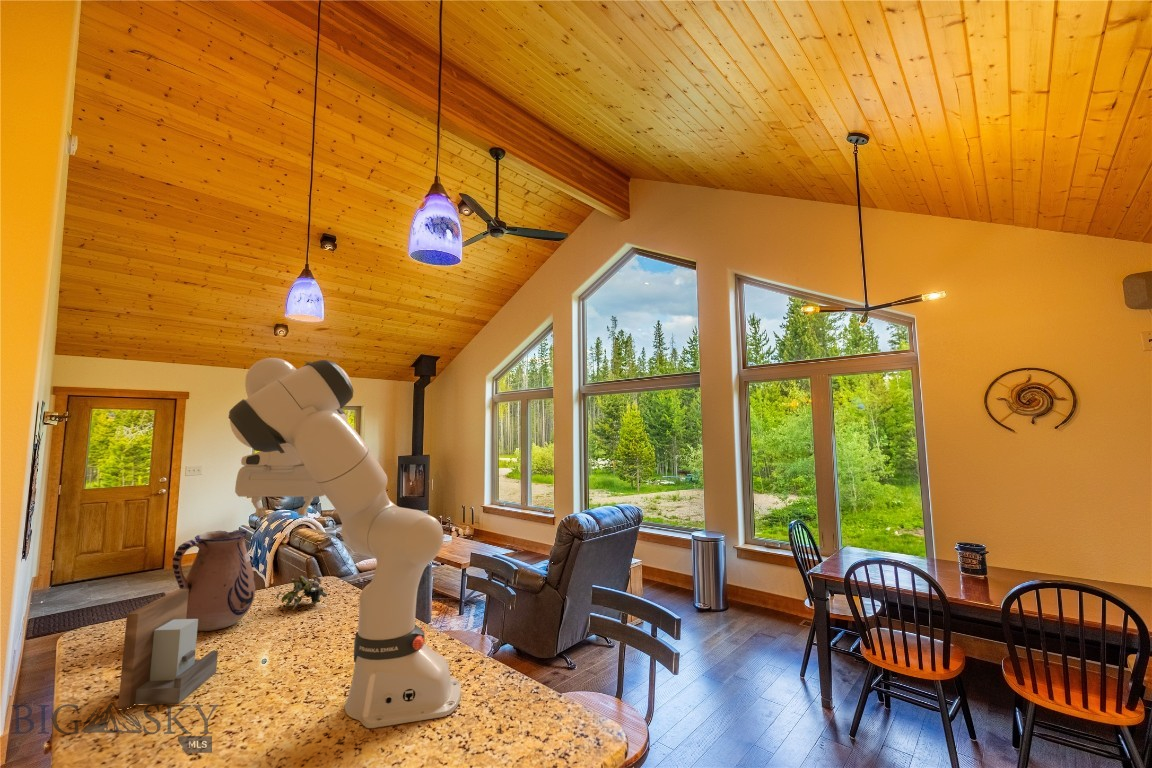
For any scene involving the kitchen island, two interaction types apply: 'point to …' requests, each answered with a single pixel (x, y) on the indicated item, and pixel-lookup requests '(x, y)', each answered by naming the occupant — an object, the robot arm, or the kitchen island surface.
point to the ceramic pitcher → (217, 579)
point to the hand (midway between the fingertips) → (281, 515)
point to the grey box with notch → (173, 649)
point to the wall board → (140, 654)
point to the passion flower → (308, 587)
